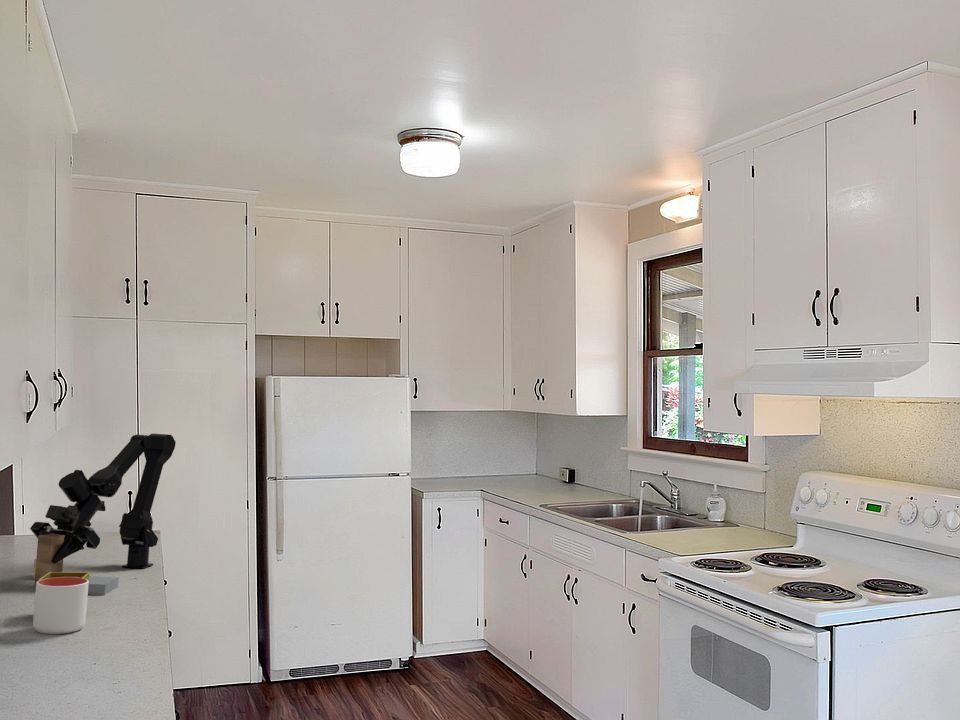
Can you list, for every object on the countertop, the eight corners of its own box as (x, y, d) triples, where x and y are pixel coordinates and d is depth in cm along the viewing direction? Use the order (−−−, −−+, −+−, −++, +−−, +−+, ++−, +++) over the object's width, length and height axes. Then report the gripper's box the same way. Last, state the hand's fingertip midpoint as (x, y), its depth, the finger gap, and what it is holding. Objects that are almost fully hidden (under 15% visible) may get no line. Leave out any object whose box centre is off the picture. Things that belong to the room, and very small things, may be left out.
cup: (21, 630, 180) (25, 581, 181) (64, 621, 189) (68, 574, 190) (53, 638, 176) (57, 588, 176) (95, 628, 184) (99, 581, 185)
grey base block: (82, 587, 224) (83, 576, 224) (117, 589, 224) (118, 577, 224) (67, 595, 215) (68, 583, 215) (104, 596, 215) (105, 584, 215)
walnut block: (47, 584, 224) (51, 533, 225) (61, 586, 222) (65, 535, 223) (34, 587, 220) (38, 535, 220) (47, 589, 218) (51, 537, 219)
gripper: (38, 490, 229) (0, 538, 218) (95, 496, 223) (59, 545, 212) (59, 517, 236) (23, 564, 225) (115, 524, 230) (80, 572, 219)
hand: (45, 561), depth 220 cm, fingers closed on walnut block, 4 cm apart
